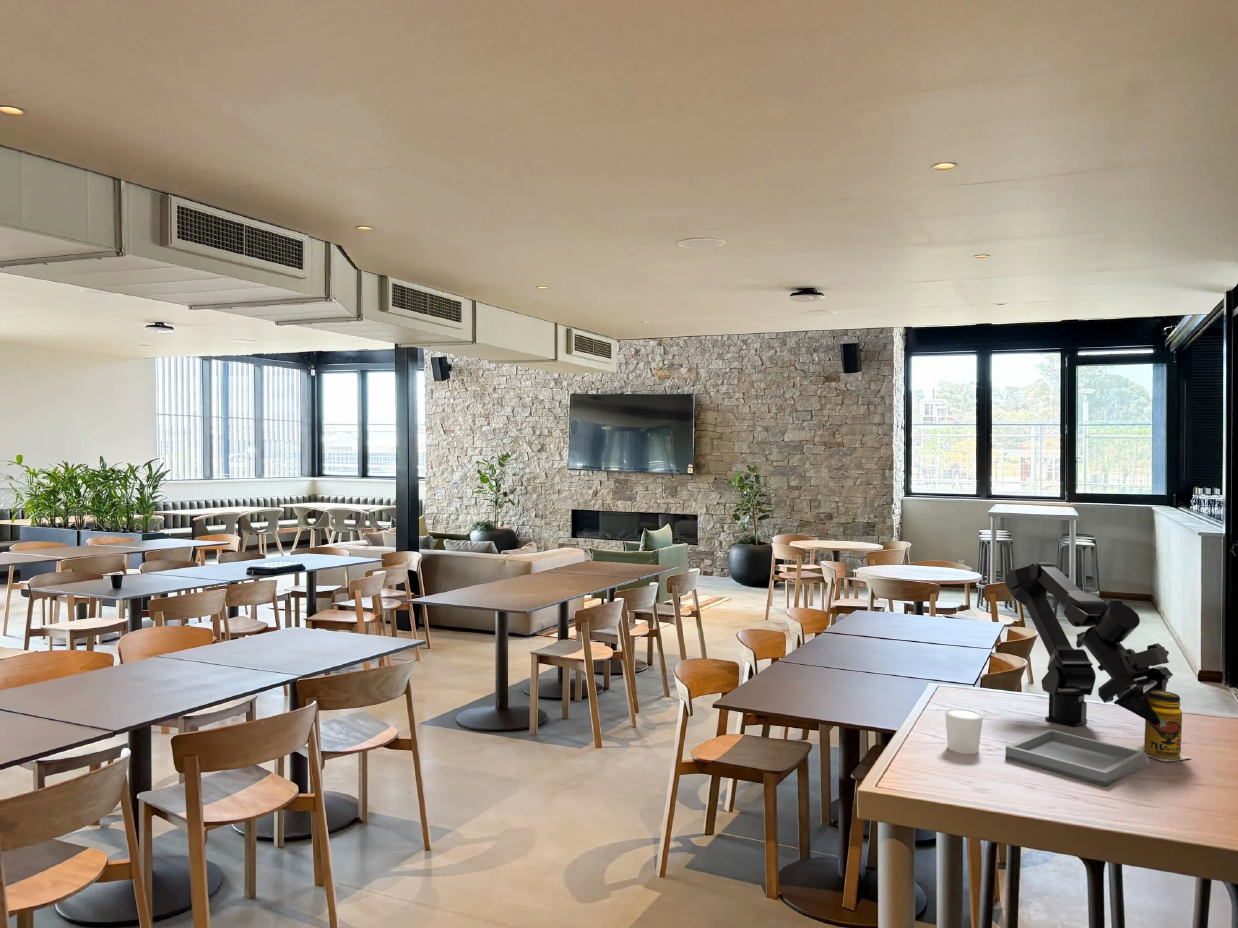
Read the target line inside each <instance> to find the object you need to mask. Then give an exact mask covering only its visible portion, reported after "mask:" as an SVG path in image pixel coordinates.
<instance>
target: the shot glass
mask: <svg viewBox="0 0 1238 928" xmlns="http://www.w3.org/2000/svg"><path fill="white" fill-rule="evenodd" d="M944 715H945V725H946V726H945V727H946V739H947V740H946V741H947V748H948V750H950V751H952V752H954V753H958V754H963V755H976V754H977V753H979V751H980V750H979V749H980V743H981V736H982V727H983V717H984V716H983V714H981V713H980V712H977V711H973V710H969V709H968V710H967V709H958V708H957V709H956V708H955V709H949V710H946V711H945V714H944Z"/></svg>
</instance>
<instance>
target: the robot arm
mask: <svg viewBox="0 0 1238 928" xmlns="http://www.w3.org/2000/svg"><path fill="white" fill-rule="evenodd" d="M1004 580H1005V587H1007V589H1008V591H1009V593H1010V594H1011V596H1012V598H1013V599H1014V600H1016V602H1018V603H1020V604H1021V605H1023V606H1024V607H1025V608H1026V610H1027V613H1028V614H1029V616H1030V618H1031V621H1032V622H1033V624H1034V627H1035V629H1036V631H1037V633H1038V635H1039V637H1040V639H1041V641H1042V643H1043V645H1044V648H1045V649H1046V651H1047V653H1048V656H1049V660H1048V664H1047V670H1048V671H1047V673H1046V674H1045V675H1044V676H1043V678H1042V679H1041V688H1042V691H1044V692H1046V693H1048V716H1045V717H1044V720H1045V721H1047V722H1048V721H1049V722H1053V723H1057V724H1061V725H1062V724H1063V725H1067V726H1070V727H1077V726H1080V725H1082V724H1083V725H1084V724H1085V723H1087V722H1088V719H1087V710H1088V709H1087V707H1088V706H1087V704H1088V703H1087V701H1085V695H1086V696H1092V695H1093V694H1092V693H1093V689H1094V685H1095V683H1096V678H1097V675H1096V672H1095V670H1094V668H1093V663H1092V662H1091V660H1090V659H1089V656H1088V654H1087V651H1085V650H1084V649H1083V648H1082V647H1086V649H1087V650H1088V651H1089V653H1090V654H1091V655H1092V656H1093V657H1094V659H1095V660H1096V661H1097V663H1098V664H1099V665H1098V666H1097V668H1098V670H1099V671H1100V672H1103V671H1105V672H1106V673H1107V674H1108V676H1109V677H1110V679H1109V680H1108V681H1106V682H1105V683H1102V685H1101V686H1099V687H1098V689H1097V695H1098V697H1100V699H1101V700H1102V702H1103V703H1104V704H1106V703H1109V702H1113V705H1118V706H1119V707H1121V708H1123V709H1126V710H1127V711H1130V712H1131V713H1133V714H1134V715H1137V716H1138V717H1140V718H1142V719H1144V721H1145V720H1147V721H1149V722H1151V723H1152V724H1154V725H1158V724H1160V723H1161V722H1160V720H1159V718H1158V717H1157V715H1156V713H1155V712H1154V710H1153V709H1152V708H1151V706H1150V705H1149V703H1148V698H1149V692H1150V691H1166V692H1167V686H1168V685H1167V684H1168V683H1169V679H1171V678H1172V677H1173V675H1174V674H1173V673H1172V672H1171V671H1170V670H1169V668H1168V666H1162V665H1164V664H1169V663H1170V661H1169V658H1168V655H1169V654H1170V651H1169V650H1167V649H1165V647H1164V646H1162V645H1161V644H1160V643H1158V642H1157V643H1153V644H1148V645H1147V647H1146V650H1142V651H1140V652H1136V651H1135V650H1134V649H1132V648H1125V646H1123V644H1122V642H1124V641H1125V640H1126V639H1127V638H1128V636H1130V635H1131V633H1132V632H1134V630H1136V629H1137V627H1138V626H1139V625H1140V621H1141V619H1140V617H1139V614H1138V612H1136V611H1135V610H1134V609H1133V608H1131V607H1129V606H1128V605H1126V604H1124V602H1123V601H1122V600H1121V599H1111V600H1110V601H1109V602H1108V603H1107V602H1106V601H1105V600H1103V599H1102V598H1100V597H1098V596H1097V595H1094V594H1091V593H1088V592H1085V591H1083V590H1081V588H1079V586H1077V585H1076V584H1075V583H1074V582H1072V581H1071V579H1070V578H1069V577H1067V576H1066V575H1065V574H1064V573H1063V572H1062V571H1061V570H1059V566H1057V564H1056V563H1053V562H1041V561H1040V562H1039V561H1038V562H1036V561H1035V562H1034V563H1031V564H1029V565H1028V566H1024V567H1020V568H1017V569H1011V570H1010V571H1009V573H1008V574H1007V575H1006V576H1005V579H1004ZM1048 592H1049V594H1051V595H1052V596H1053V597H1054V598H1055V599H1056V600H1057V601H1058V602H1059V604H1061V605H1062V606H1063V615H1064V616H1065V618H1066V620H1068V622H1069V623H1070V625H1071V626H1073V627H1075V628H1087V629H1086V630H1085V631H1083V632H1082V631H1081V632H1080V633H1078V634H1076V645H1075V646H1076V649H1075V648H1073V646H1072V645H1071V642H1070V641H1069V639H1068V637H1067V635H1066V634H1065V631H1064V629H1063V627H1062V625H1061V624H1060V621H1059V619H1058V617H1057V614H1055V611H1054V610H1053V608H1052V606H1051V604H1050V602H1049V600H1048V598H1047V595H1048ZM1080 648H1081V649H1080ZM1115 696H1116V698H1117V699H1116V700H1115V699H1114V697H1115ZM1114 700H1115V701H1114Z"/></svg>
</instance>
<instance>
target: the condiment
mask: <svg viewBox="0 0 1238 928" xmlns="http://www.w3.org/2000/svg"><path fill="white" fill-rule="evenodd" d="M1148 703H1149V705H1150V706H1151V708H1152V709H1153V710H1154V712H1155V713H1156V715H1157V717H1158V718H1159V720H1160V722H1161V723H1160V724H1158V725H1154V724H1152V723H1151V722H1149V721H1147V720H1145V719H1144V721H1145V723H1144V742H1143V743H1144V744H1143V745H1140V746H1133V747H1129V748H1130V749H1134V750H1138V751H1142V752H1146V757H1149V758H1153V759H1155V760H1159V761H1161V762H1167V763H1168V762H1176V761H1183V760H1187V759H1192V757H1190V756H1187V755H1184V754H1182V753H1181V751H1182V726H1183V712H1182V709H1181V708H1180V707H1181V698H1180V695H1178V694H1177V693H1174V692H1170V691H1167V690H1166V691H1150V692H1149V698H1148Z"/></svg>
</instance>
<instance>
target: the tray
mask: <svg viewBox="0 0 1238 928" xmlns="http://www.w3.org/2000/svg"><path fill="white" fill-rule="evenodd" d="M1130 748H1131V747H1125V746H1121V745H1117V744H1113V743H1108V742H1104V741H1100V740H1096V739H1093V738H1087V737H1085V736H1084V737H1083V736H1079V735H1075V734H1071V733H1067V732H1063V731H1059V730H1054V729H1050V728H1049V729H1045V730H1043V731H1041V732H1039V733H1038V732H1037V733H1035V734H1033V735H1031V736H1028V737H1025V738H1022V739H1021V740H1018V741H1016V742H1013V743H1011V744H1007V745H1005V756H1004V757H1005V760H1007V759H1009V760H1008V761H1010V762H1014V761H1015V762H1016V763H1018V762H1019V764H1022V765H1026V766H1030V767H1032V768H1037V769H1041V770H1044V771H1048V772H1051V773H1053V774H1054V773H1055V774H1059V775H1063V776H1065V777H1069V778H1072V777H1073V779H1076V780H1079V779H1080V781H1084V782H1086V783H1087V782H1088V783H1091V784H1094V785H1098V786H1102V787H1108V786H1110V785H1112V784H1114V783H1116V782H1117V781H1119V780H1121V779H1123V778H1125V777H1127V776H1129V775H1130V774H1132V773H1134V772H1136V771H1138V770H1140V769H1141V768H1143V767H1145V766H1146V765H1147V755H1146V752H1142V751H1138V750H1134V749H1130Z"/></svg>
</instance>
